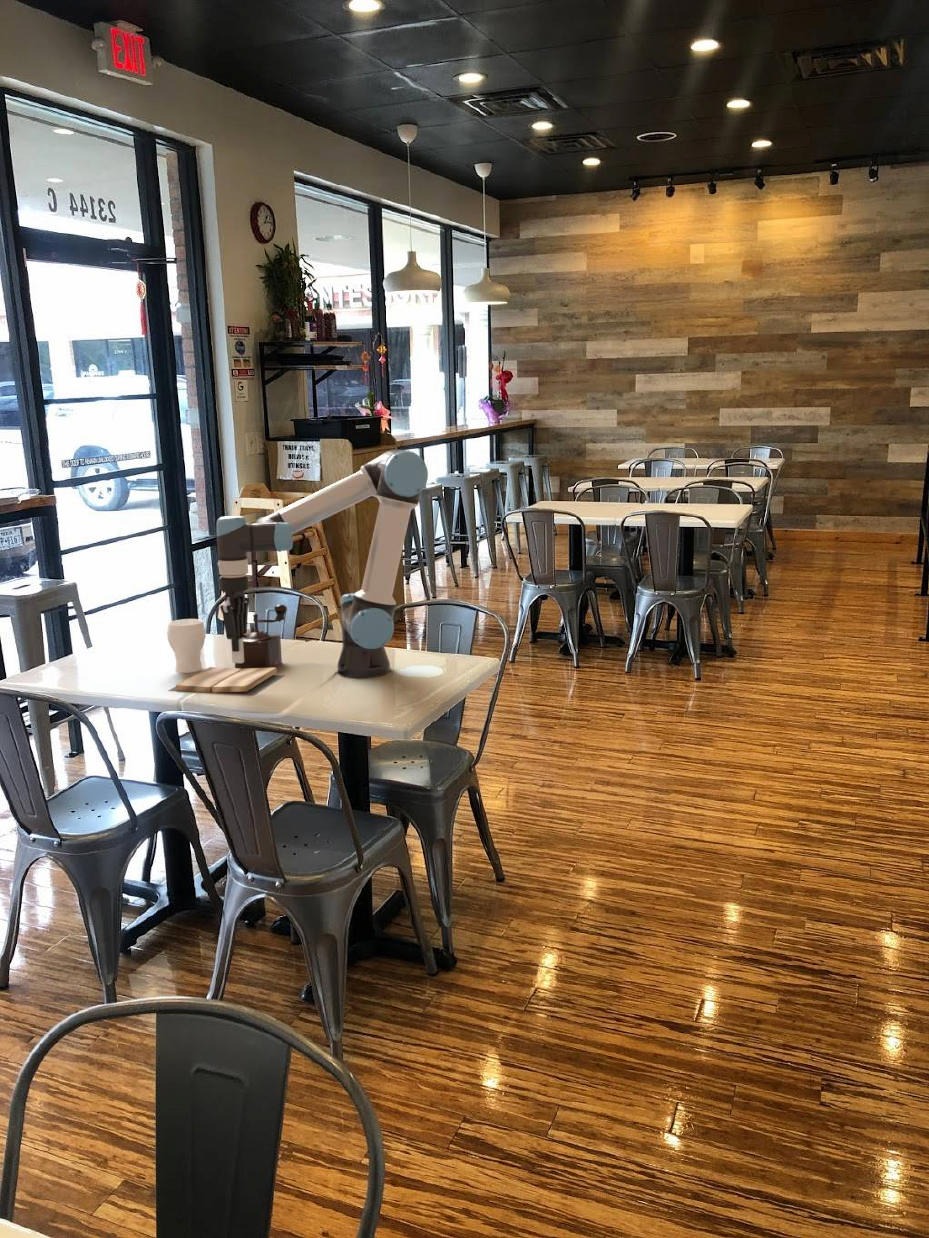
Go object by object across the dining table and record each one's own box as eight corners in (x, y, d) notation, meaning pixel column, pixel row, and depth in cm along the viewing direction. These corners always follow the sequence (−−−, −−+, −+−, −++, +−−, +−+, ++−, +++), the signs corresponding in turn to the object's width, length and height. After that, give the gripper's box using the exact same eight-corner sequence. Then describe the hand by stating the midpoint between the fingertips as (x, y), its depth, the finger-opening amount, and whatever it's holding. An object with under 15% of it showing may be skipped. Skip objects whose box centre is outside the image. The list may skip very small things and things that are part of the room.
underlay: (285, 678, 297) (285, 675, 296) (254, 698, 276) (254, 695, 276) (204, 674, 302) (203, 671, 302) (168, 694, 282) (167, 690, 282)
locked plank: (242, 673, 299) (242, 668, 298) (210, 692, 280) (210, 686, 279) (210, 672, 301) (209, 667, 301) (176, 690, 282) (175, 685, 282)
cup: (198, 678, 299) (194, 626, 296) (163, 676, 301) (159, 625, 298) (214, 668, 309) (210, 618, 306) (180, 667, 311) (177, 618, 308)
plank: (276, 672, 296) (276, 667, 296) (246, 691, 277) (246, 685, 277) (244, 673, 299) (243, 668, 298) (212, 692, 279) (211, 686, 279)
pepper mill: (268, 674, 301) (265, 613, 298) (234, 672, 304) (230, 611, 301) (292, 662, 316) (289, 603, 312) (259, 659, 319) (256, 601, 315)
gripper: (231, 571, 283) (235, 656, 287) (209, 578, 270) (214, 667, 275) (257, 571, 281) (261, 657, 286) (236, 579, 269) (240, 669, 273)
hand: (238, 662), depth 280 cm, fingers closed
